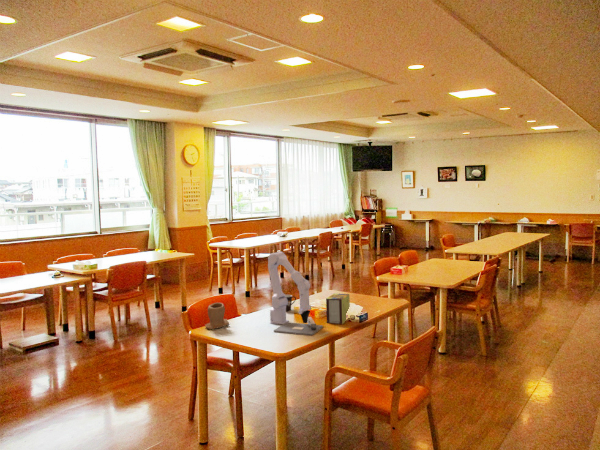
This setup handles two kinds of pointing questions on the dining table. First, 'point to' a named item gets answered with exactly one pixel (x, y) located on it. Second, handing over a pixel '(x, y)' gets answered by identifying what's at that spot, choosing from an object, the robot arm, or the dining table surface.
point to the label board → (297, 329)
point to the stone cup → (216, 316)
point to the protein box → (337, 308)
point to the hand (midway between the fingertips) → (305, 322)
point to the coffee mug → (289, 302)
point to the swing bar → (311, 323)
